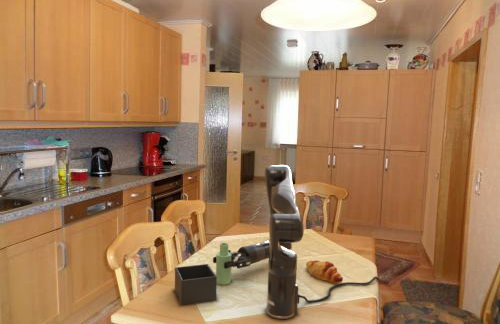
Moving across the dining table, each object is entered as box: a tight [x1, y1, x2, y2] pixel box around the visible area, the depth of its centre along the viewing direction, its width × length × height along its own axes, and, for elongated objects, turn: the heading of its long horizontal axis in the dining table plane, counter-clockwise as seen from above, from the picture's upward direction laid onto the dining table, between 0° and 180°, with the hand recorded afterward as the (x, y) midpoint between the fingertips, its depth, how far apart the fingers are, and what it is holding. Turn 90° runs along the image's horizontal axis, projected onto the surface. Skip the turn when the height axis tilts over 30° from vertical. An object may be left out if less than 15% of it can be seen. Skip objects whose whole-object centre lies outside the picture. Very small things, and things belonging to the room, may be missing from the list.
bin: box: [174, 263, 217, 306], centre depth 138 cm, size 12×12×9 cm
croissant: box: [305, 259, 344, 284], centre depth 159 cm, size 21×10×8 cm, turn 32°
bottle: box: [215, 242, 232, 286], centre depth 150 cm, size 6×6×15 cm
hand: (218, 263), depth 149 cm, fingers open, 6 cm apart
